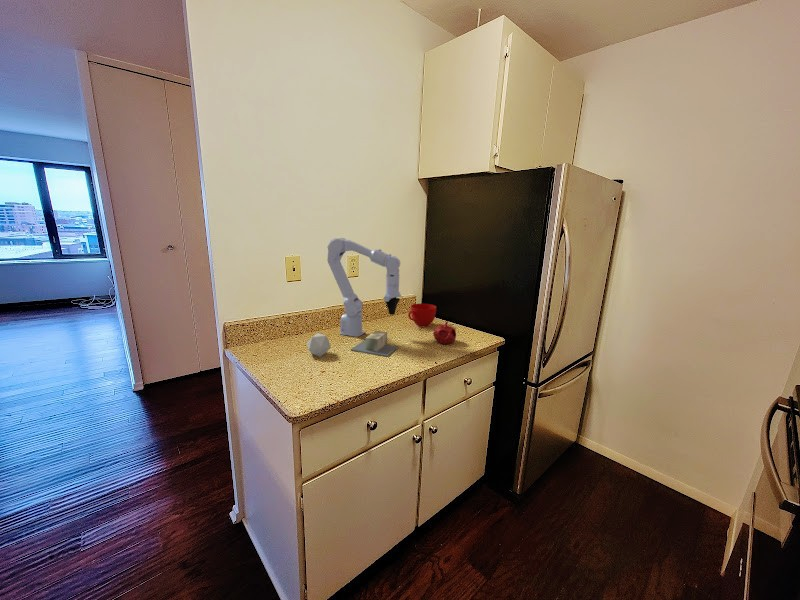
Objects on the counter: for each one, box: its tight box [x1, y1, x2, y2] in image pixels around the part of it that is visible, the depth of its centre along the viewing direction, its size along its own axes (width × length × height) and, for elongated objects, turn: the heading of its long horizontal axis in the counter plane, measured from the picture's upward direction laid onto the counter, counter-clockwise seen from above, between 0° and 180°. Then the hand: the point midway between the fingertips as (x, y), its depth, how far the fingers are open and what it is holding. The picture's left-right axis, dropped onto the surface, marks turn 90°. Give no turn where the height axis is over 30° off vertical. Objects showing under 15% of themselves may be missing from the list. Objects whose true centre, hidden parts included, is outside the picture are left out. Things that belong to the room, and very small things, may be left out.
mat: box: [350, 340, 399, 358], centre depth 132 cm, size 16×11×1 cm
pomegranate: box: [432, 321, 457, 345], centre depth 142 cm, size 10×10×9 cm
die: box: [306, 332, 332, 358], centre depth 124 cm, size 8×9×10 cm
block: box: [365, 330, 388, 351], centre depth 133 cm, size 5×5×10 cm
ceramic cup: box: [407, 303, 437, 328], centre depth 165 cm, size 13×17×10 cm
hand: (391, 314), depth 146 cm, fingers closed
